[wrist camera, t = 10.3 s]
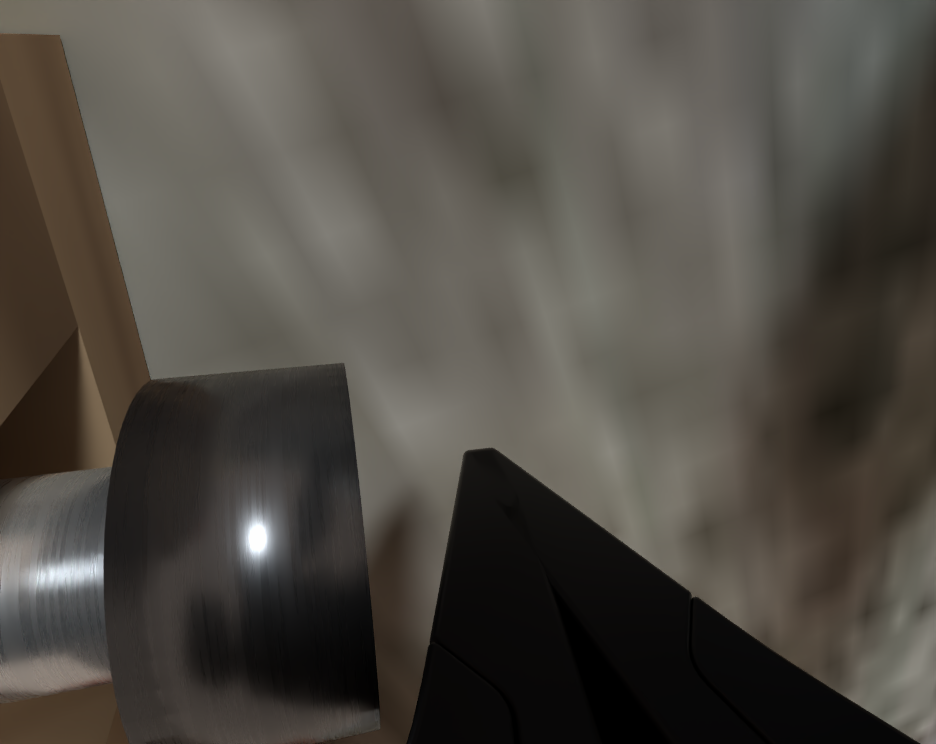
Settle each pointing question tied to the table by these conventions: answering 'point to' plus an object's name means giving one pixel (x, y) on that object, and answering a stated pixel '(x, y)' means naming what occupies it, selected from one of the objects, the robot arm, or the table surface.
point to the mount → (57, 328)
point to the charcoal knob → (202, 567)
